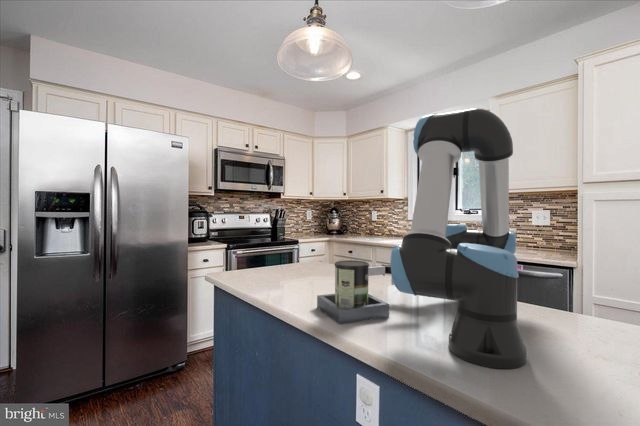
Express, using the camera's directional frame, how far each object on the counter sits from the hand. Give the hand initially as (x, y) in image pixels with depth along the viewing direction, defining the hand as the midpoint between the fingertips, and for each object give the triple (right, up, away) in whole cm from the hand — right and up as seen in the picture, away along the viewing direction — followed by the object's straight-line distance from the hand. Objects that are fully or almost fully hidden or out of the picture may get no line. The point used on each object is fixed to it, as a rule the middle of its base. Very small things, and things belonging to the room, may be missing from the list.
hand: (379, 275), depth 101 cm
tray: (-9, -10, -4) cm, 14 cm away
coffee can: (-9, -10, -3) cm, 14 cm away
